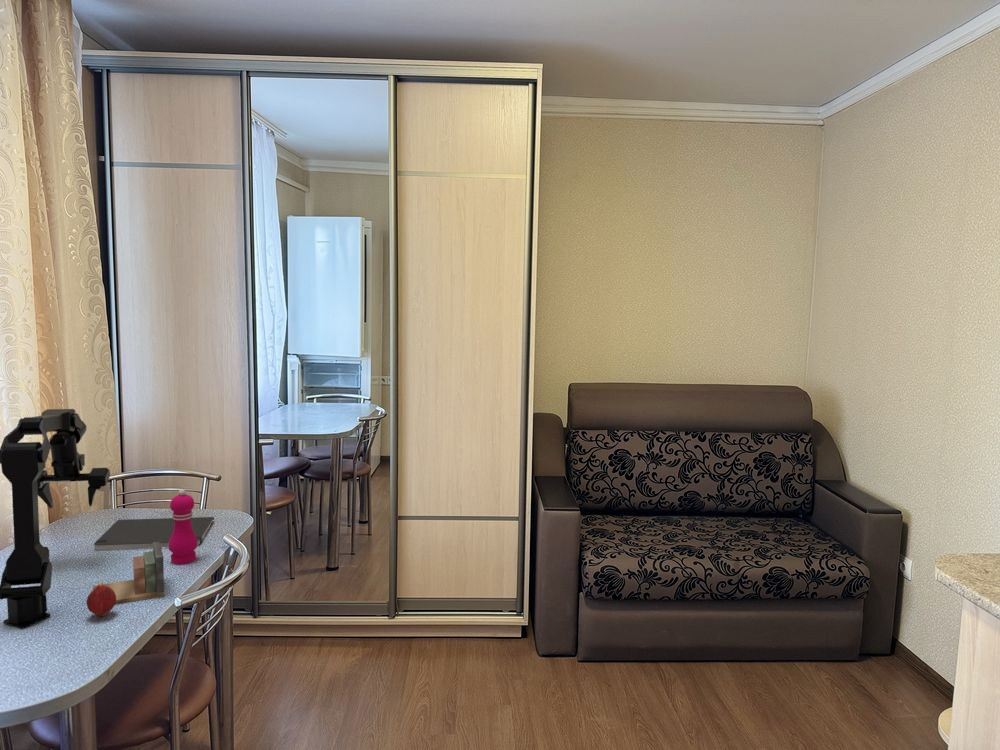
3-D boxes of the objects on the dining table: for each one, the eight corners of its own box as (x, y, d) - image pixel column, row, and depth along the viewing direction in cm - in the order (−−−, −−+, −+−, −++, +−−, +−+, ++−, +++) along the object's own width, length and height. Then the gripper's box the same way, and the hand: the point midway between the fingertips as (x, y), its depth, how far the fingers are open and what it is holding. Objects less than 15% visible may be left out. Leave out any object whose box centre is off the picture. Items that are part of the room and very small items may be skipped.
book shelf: (92, 608, 160) (91, 567, 159) (93, 589, 170) (91, 550, 168) (164, 596, 168) (163, 556, 166) (160, 578, 177) (159, 541, 176)
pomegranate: (122, 614, 158) (120, 581, 157) (96, 624, 153) (95, 590, 152) (107, 607, 161) (106, 575, 160) (82, 617, 156) (80, 583, 155)
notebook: (214, 523, 220) (118, 526, 214) (214, 516, 220) (117, 519, 214) (199, 548, 199) (92, 552, 193) (199, 540, 199) (92, 544, 193)
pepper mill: (186, 566, 185) (185, 494, 183) (163, 563, 186) (161, 491, 184) (203, 556, 192) (202, 486, 190) (180, 553, 193) (178, 484, 191)
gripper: (111, 439, 188) (117, 489, 194) (33, 441, 183) (40, 492, 188) (102, 458, 179) (108, 510, 184) (18, 461, 173) (27, 515, 178)
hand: (71, 506), depth 184 cm, fingers open, 9 cm apart
